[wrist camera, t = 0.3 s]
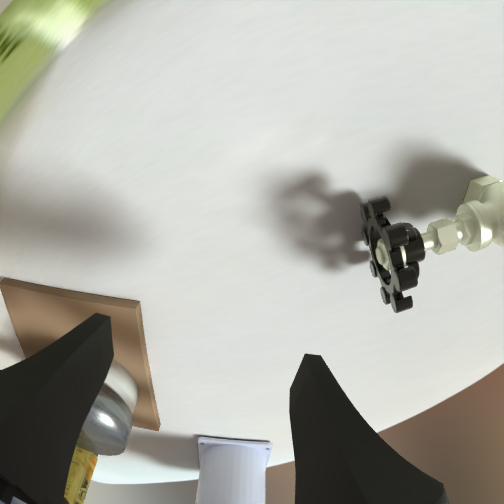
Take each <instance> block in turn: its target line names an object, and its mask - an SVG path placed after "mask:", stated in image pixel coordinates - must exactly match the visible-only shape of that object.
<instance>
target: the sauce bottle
mask: <svg viewBox="0 0 504 504" xmlns="http://www.w3.org/2000/svg"><path fill="white" fill-rule="evenodd" d="M97 457H98V454H96V453H92V452H89V451H86V450H84V449H81V448H79V447H77V446H76V447H75V451H74V454H73V458H72V462H71V465H70V469H69V474H68V479H67V483H66V488H65V494H64V501H63V504H83V503H84V500H85V496H86V493H87V490H88V487H89V484H90V481H91V478H92V475H93V472H94V469H95V466H96V463H97Z"/></svg>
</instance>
